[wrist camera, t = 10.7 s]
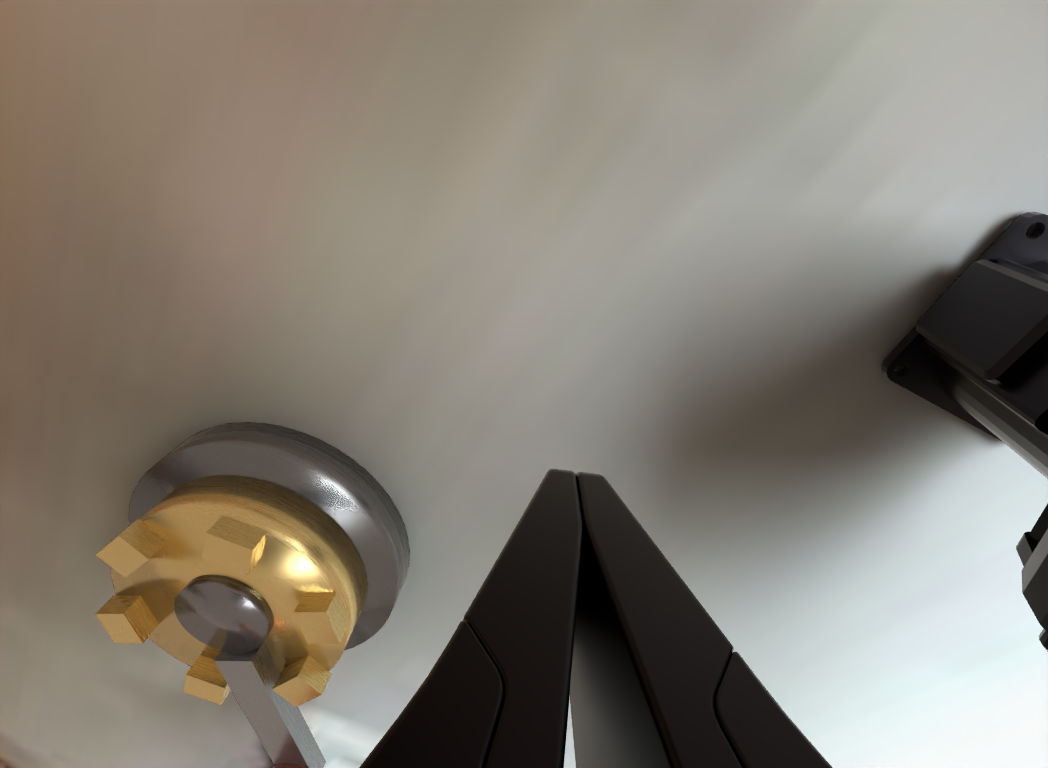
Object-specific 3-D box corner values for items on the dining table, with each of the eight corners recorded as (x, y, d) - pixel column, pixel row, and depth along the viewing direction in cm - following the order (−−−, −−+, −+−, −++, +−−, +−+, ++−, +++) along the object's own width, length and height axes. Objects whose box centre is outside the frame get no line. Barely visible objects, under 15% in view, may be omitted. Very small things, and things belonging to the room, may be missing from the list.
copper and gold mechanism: (111, 481, 24) (-290, 792, 13) (331, 468, 23) (76, 816, 12) (255, 728, 32) (75, 1055, 21) (427, 734, 30) (330, 1095, 19)
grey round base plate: (449, 500, 25) (438, 530, 24) (362, 654, 31) (348, 687, 30) (181, 375, 24) (148, 396, 22) (143, 561, 30) (114, 589, 28)
